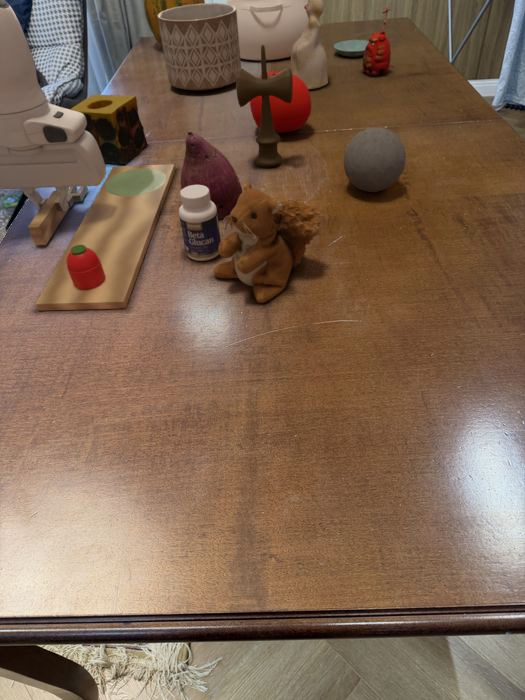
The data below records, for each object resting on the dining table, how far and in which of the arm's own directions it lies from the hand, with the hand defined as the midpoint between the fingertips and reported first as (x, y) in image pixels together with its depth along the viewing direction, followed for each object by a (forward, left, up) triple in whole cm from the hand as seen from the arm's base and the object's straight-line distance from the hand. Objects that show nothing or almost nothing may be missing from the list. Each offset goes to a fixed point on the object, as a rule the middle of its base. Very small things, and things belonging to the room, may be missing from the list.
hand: (54, 210), depth 84 cm
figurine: (+44, +66, -2) cm, 79 cm away
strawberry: (+11, -19, -1) cm, 22 cm away
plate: (+11, +11, -2) cm, 16 cm away
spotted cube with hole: (+3, +27, -2) cm, 27 cm away
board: (+11, -3, -2) cm, 12 cm away
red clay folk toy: (+62, +72, -2) cm, 95 cm away
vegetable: (+26, +3, -2) cm, 27 cm away
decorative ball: (+53, +7, -2) cm, 54 cm away
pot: (+33, +99, -2) cm, 104 cm away
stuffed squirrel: (+36, -17, -2) cm, 40 cm away
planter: (+17, +70, -2) cm, 72 cm away
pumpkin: (+4, +111, -2) cm, 111 cm away
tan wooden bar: (0, +1, -2) cm, 2 cm away
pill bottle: (+26, -11, -2) cm, 29 cm away
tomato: (+37, +35, -2) cm, 51 cm away
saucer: (+58, +91, -2) cm, 108 cm away
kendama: (+35, +19, -2) cm, 40 cm away
